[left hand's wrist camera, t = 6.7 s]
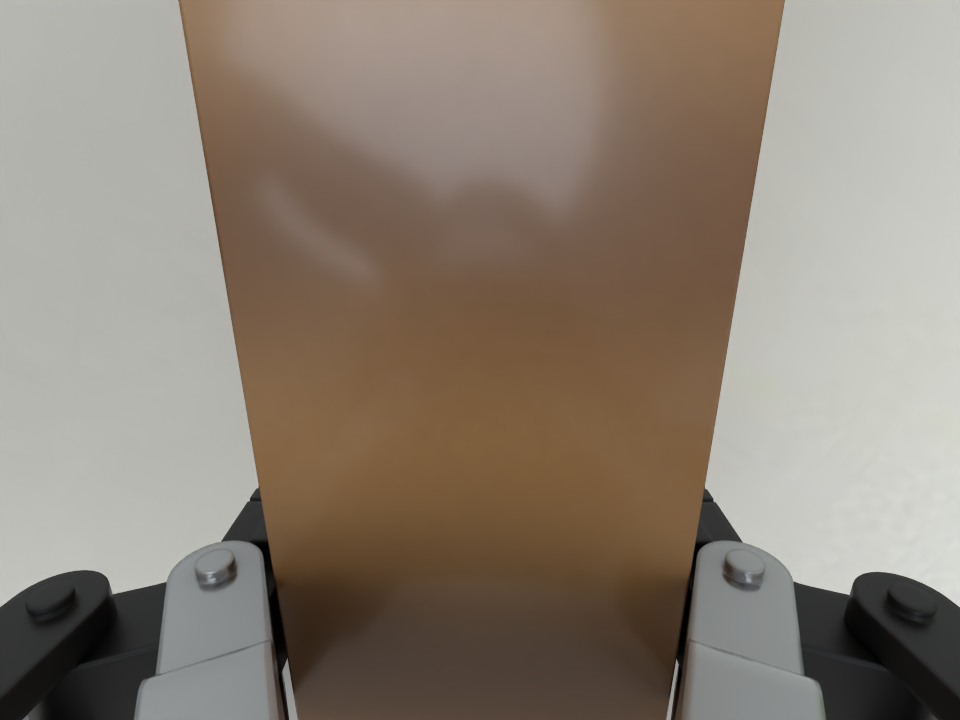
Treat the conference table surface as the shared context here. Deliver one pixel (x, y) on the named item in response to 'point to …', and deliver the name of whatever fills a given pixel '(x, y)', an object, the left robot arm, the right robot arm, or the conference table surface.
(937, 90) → the conference table surface
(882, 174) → the conference table surface
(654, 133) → the bar
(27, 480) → the conference table surface
